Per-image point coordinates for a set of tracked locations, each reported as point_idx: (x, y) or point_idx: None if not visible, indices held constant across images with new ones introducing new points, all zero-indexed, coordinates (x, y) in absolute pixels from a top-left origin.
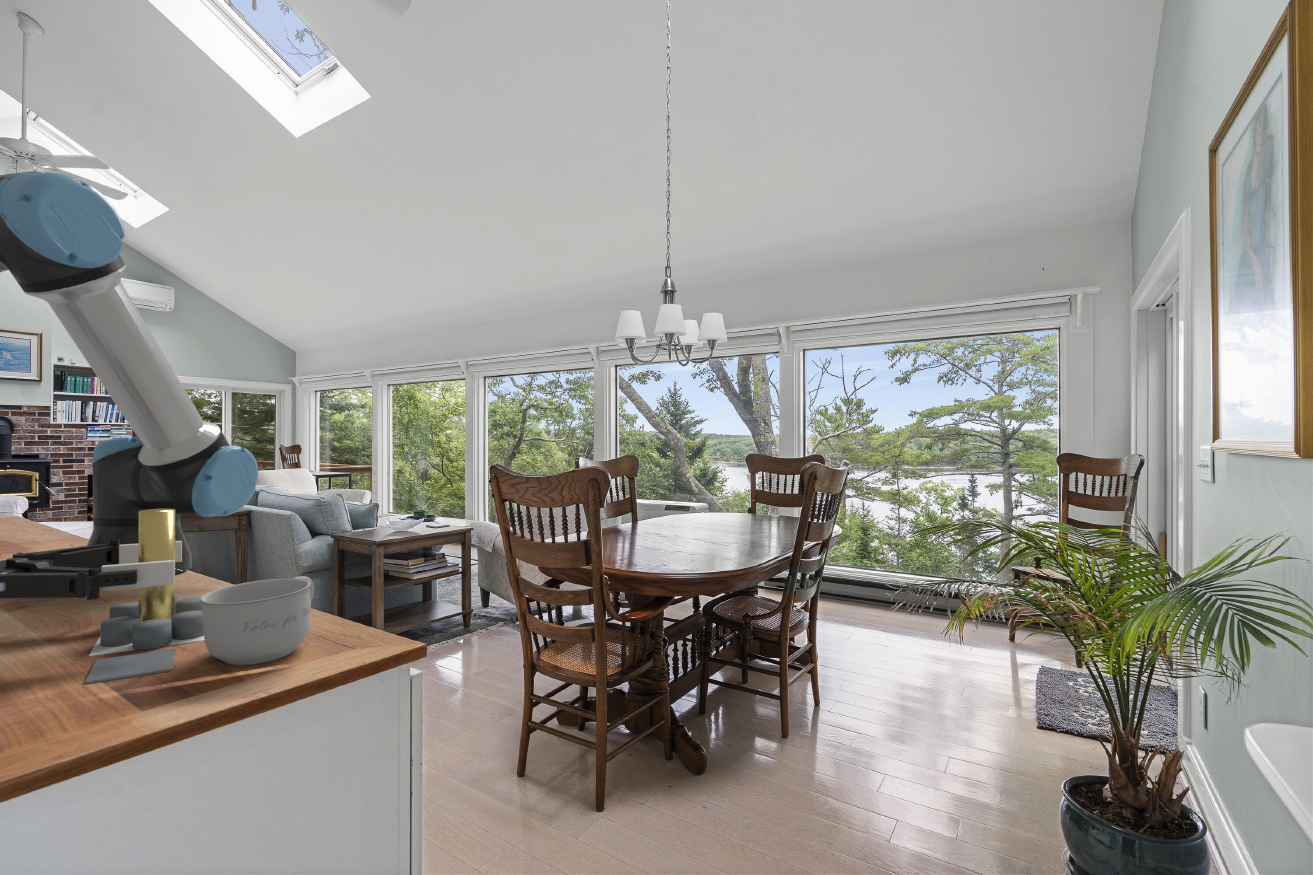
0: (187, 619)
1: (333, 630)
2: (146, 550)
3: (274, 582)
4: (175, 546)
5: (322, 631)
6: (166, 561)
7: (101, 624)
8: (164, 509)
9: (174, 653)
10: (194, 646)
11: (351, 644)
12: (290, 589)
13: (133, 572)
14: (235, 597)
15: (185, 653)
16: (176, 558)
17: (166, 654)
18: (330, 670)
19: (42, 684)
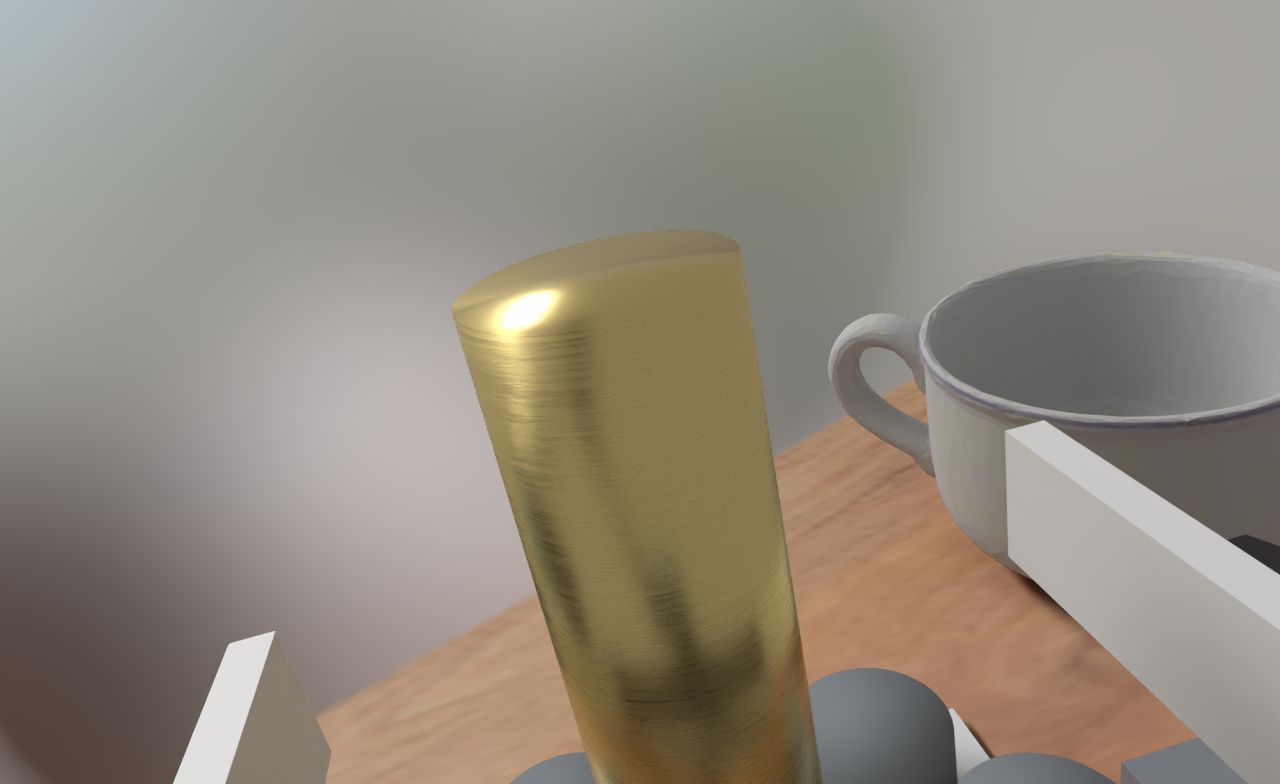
0: (945, 712)
1: (831, 470)
2: (784, 587)
3: (933, 350)
4: (282, 685)
5: (838, 486)
6: (1061, 439)
7: None
8: (536, 275)
9: (1195, 743)
10: (1005, 754)
11: None
12: (945, 347)
13: (1266, 544)
14: None
15: (1109, 751)
16: (318, 754)
17: (1220, 767)
18: None
19: None
